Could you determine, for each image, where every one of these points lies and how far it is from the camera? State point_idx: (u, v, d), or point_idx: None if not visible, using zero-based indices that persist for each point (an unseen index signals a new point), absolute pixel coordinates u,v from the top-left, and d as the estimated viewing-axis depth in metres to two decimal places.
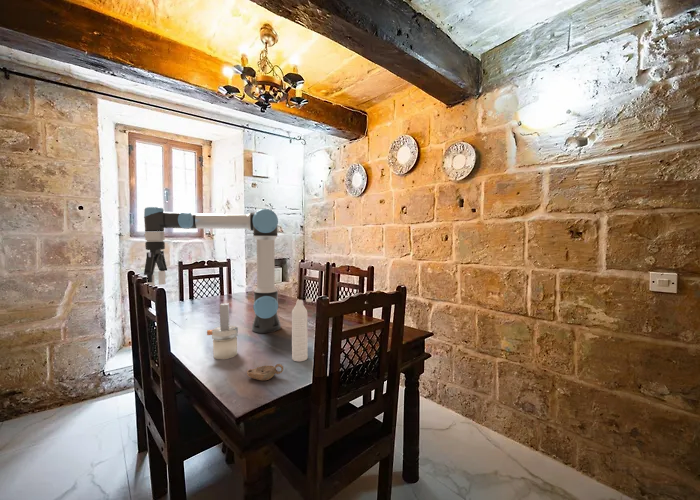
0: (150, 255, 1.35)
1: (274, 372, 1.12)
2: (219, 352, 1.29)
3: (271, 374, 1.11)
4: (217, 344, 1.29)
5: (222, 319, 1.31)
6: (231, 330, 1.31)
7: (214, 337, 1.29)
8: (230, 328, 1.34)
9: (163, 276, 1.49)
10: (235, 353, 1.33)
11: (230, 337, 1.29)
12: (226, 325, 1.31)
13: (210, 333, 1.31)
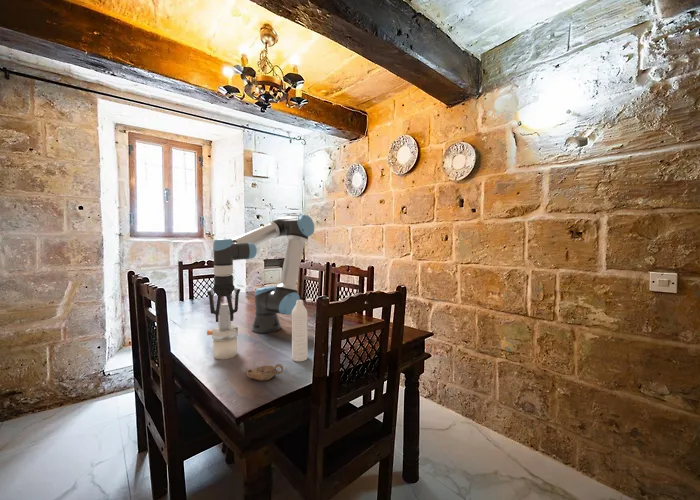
0: None
1: (274, 372, 1.12)
2: (219, 352, 1.29)
3: (271, 374, 1.10)
4: (217, 344, 1.29)
5: (222, 319, 1.31)
6: (231, 330, 1.31)
7: (214, 337, 1.29)
8: None
9: (228, 320, 1.32)
10: (235, 353, 1.33)
11: (230, 337, 1.29)
12: (226, 325, 1.31)
13: (210, 333, 1.31)
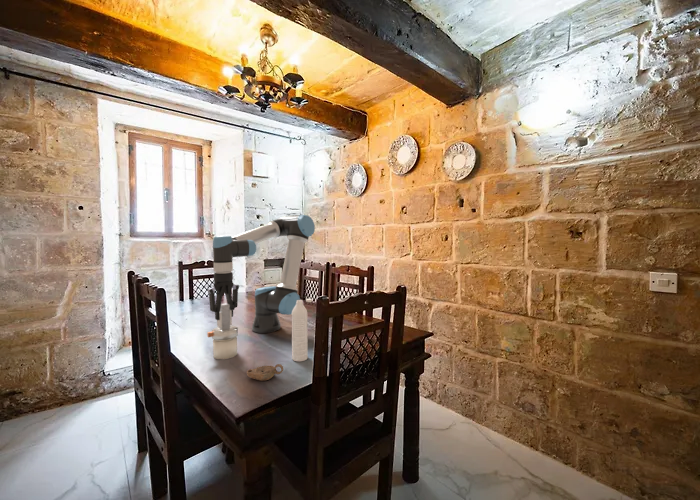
0: (209, 292, 1.27)
1: (274, 372, 1.12)
2: (219, 352, 1.29)
3: (271, 374, 1.10)
4: (217, 344, 1.29)
5: (224, 319, 1.31)
6: (233, 329, 1.33)
7: (219, 338, 1.28)
8: (229, 327, 1.35)
9: None
10: (235, 353, 1.33)
11: (235, 335, 1.32)
12: (228, 325, 1.32)
13: (211, 335, 1.29)
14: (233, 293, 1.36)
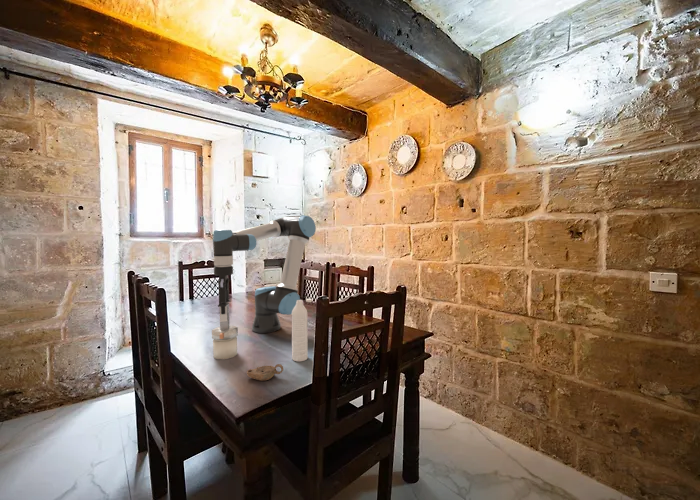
0: (222, 286, 1.26)
1: (274, 372, 1.12)
2: (219, 352, 1.29)
3: (271, 374, 1.10)
4: (217, 344, 1.29)
5: (228, 318, 1.32)
6: (232, 326, 1.36)
7: (232, 336, 1.30)
8: None
9: None
10: (235, 353, 1.33)
11: None
12: None
13: (223, 336, 1.28)
14: None
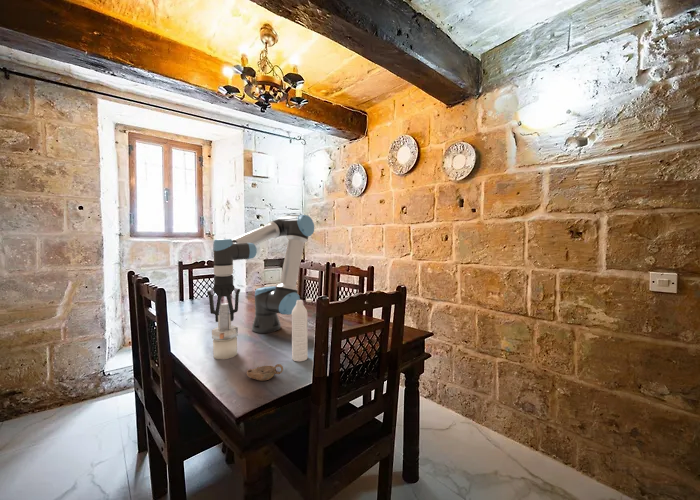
0: None
1: (274, 372, 1.12)
2: (219, 352, 1.29)
3: (271, 374, 1.10)
4: (217, 344, 1.29)
5: None
6: (232, 326, 1.36)
7: (232, 336, 1.30)
8: None
9: None
10: (235, 353, 1.33)
11: None
12: None
13: (223, 336, 1.28)
14: None
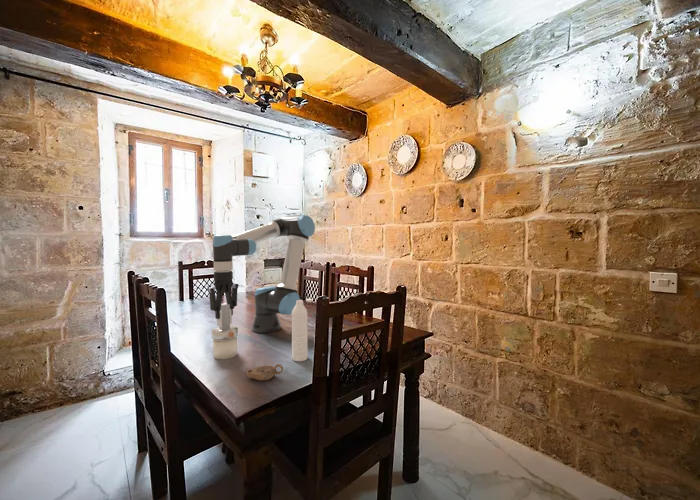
0: (210, 291, 1.27)
1: (274, 372, 1.12)
2: (219, 352, 1.29)
3: (271, 374, 1.10)
4: (217, 344, 1.29)
5: None
6: None
7: (237, 333, 1.33)
8: None
9: None
10: (235, 353, 1.33)
11: None
12: None
13: None
14: (232, 292, 1.36)
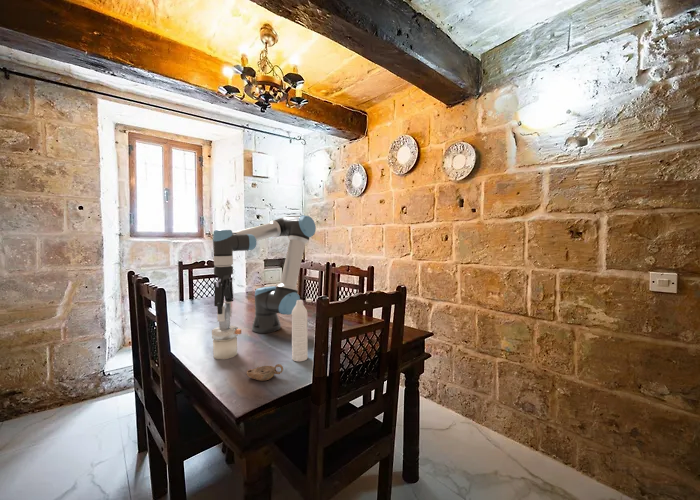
0: (218, 285, 1.25)
1: (274, 372, 1.12)
2: (219, 352, 1.29)
3: (271, 374, 1.10)
4: (217, 344, 1.29)
5: None
6: None
7: None
8: (219, 329, 1.33)
9: None
10: (235, 353, 1.33)
11: None
12: None
13: None
14: None
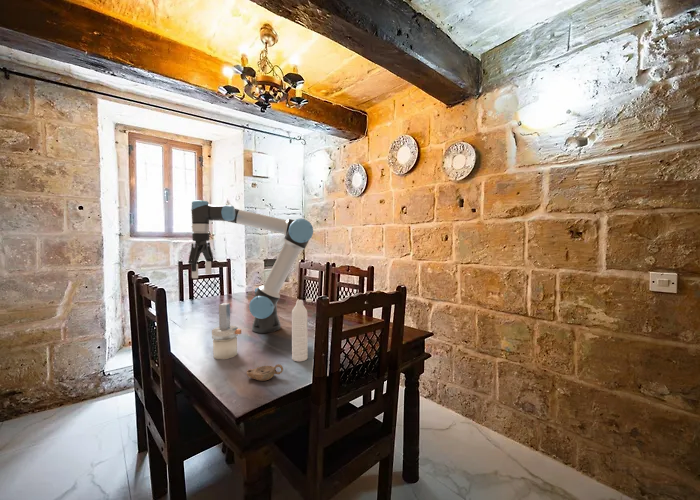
0: (194, 246, 1.43)
1: (274, 372, 1.12)
2: (219, 352, 1.29)
3: (270, 374, 1.10)
4: (217, 344, 1.29)
5: None
6: None
7: None
8: (219, 329, 1.33)
9: (209, 266, 1.57)
10: (235, 353, 1.33)
11: None
12: None
13: None
14: None
